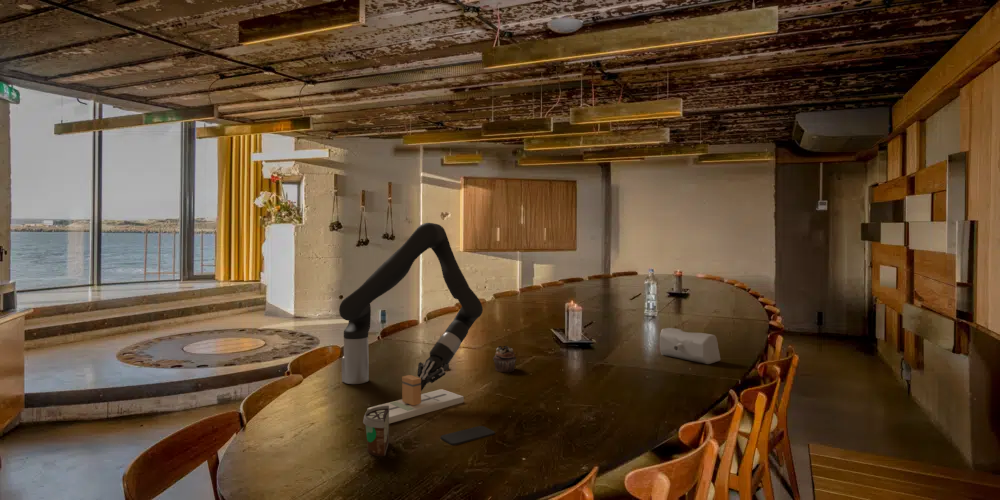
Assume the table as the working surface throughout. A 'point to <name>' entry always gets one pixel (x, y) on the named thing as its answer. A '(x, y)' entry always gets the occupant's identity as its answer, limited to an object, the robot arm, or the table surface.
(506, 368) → the cupcake
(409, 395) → the fader tab
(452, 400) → the white slider board
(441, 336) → the robot arm
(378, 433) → the food container
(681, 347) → the grey faceted block
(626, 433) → the table surface
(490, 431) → the phone
